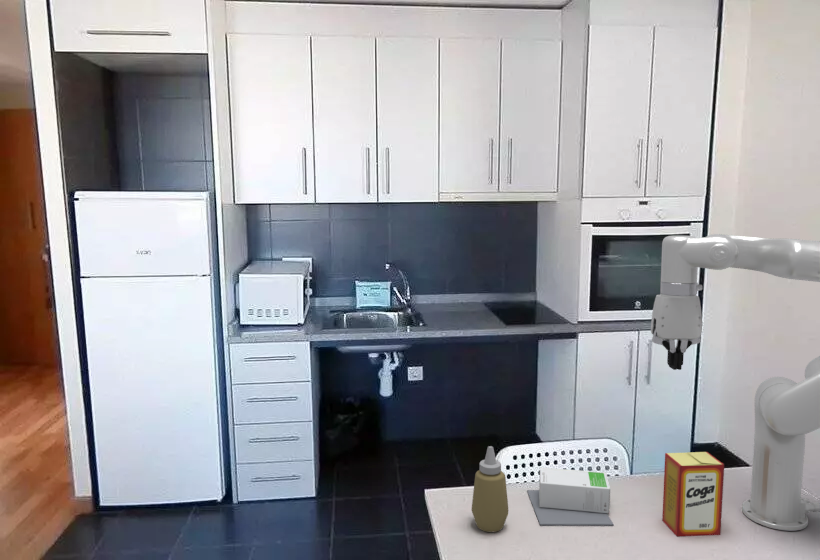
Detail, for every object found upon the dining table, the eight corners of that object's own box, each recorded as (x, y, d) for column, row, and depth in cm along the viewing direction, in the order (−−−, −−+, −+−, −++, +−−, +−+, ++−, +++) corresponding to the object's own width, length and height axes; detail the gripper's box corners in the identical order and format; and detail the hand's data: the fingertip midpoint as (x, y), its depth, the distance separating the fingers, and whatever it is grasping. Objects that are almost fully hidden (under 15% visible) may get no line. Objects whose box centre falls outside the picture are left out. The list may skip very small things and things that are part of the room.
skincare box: (611, 489, 133) (540, 482, 136) (609, 516, 134) (539, 509, 137) (606, 471, 141) (539, 465, 144) (604, 496, 142) (538, 490, 145)
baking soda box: (676, 536, 126) (680, 464, 124) (662, 520, 132) (665, 451, 130) (720, 535, 126) (724, 462, 124) (703, 519, 133) (707, 450, 131)
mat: (592, 491, 146) (592, 489, 146) (613, 525, 130) (613, 524, 130) (527, 491, 146) (527, 489, 146) (540, 525, 130) (540, 524, 130)
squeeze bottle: (512, 521, 132) (513, 443, 130) (502, 539, 125) (503, 457, 123) (478, 513, 136) (478, 437, 134) (466, 530, 128) (466, 451, 126)
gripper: (703, 287, 139) (699, 363, 141) (639, 288, 139) (636, 364, 142) (719, 291, 132) (715, 372, 134) (651, 292, 132) (648, 372, 134)
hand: (674, 368), depth 138 cm, fingers closed
